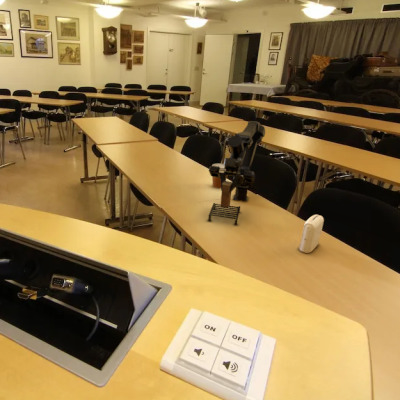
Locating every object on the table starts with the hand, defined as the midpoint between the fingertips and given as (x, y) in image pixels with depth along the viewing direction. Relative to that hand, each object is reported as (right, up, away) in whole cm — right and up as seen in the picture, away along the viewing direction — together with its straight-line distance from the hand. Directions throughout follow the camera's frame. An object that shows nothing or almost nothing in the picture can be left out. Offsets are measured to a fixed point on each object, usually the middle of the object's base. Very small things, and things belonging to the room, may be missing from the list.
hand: (225, 191), depth 135 cm
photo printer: (+25, -21, -17) cm, 37 cm away
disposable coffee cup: (+9, +4, +43) cm, 44 cm away
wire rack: (+2, -11, +8) cm, 14 cm away
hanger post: (+1, -6, +4) cm, 7 cm away
